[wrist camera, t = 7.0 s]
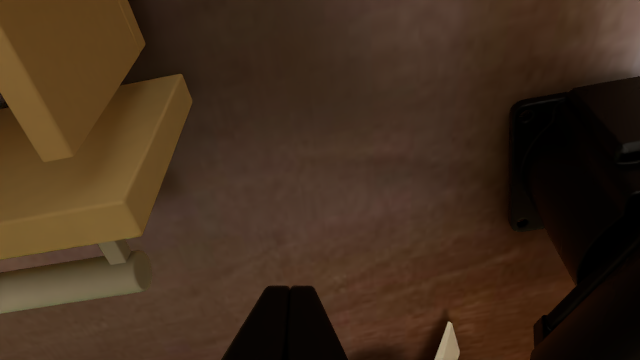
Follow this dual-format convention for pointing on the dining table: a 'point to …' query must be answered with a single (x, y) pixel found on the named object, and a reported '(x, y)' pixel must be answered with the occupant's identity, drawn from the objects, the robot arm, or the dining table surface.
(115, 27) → the drawer
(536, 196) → the robot arm
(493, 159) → the dining table surface
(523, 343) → the dining table surface
